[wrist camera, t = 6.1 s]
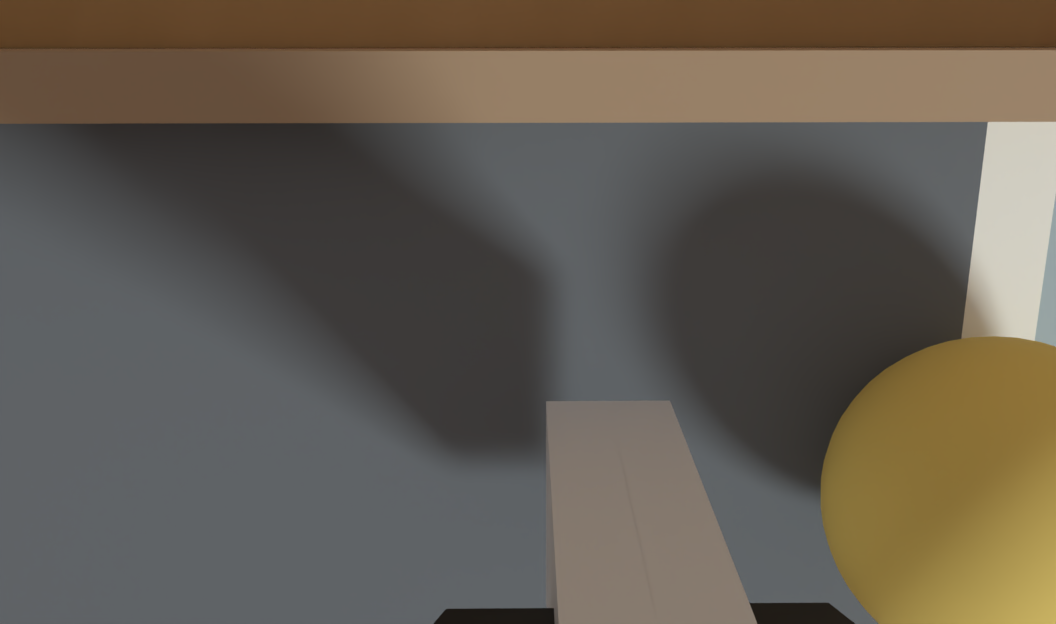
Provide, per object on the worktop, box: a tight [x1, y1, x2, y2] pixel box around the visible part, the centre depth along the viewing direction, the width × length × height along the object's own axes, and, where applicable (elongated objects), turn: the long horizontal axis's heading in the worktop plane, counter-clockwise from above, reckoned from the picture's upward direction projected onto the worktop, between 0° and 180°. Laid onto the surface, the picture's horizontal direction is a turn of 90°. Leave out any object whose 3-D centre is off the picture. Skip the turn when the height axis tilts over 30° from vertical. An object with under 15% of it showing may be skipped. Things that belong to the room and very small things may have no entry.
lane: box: [0, 47, 1056, 624], centre depth 13 cm, size 32×11×4 cm, turn 90°
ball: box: [821, 336, 1056, 624], centre depth 12 cm, size 4×4×4 cm
